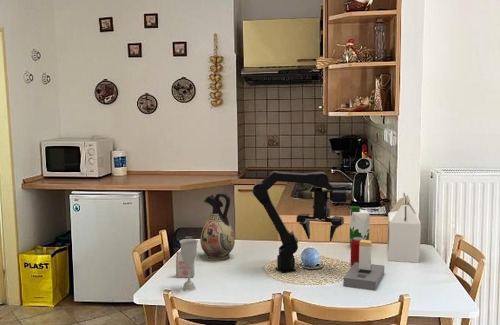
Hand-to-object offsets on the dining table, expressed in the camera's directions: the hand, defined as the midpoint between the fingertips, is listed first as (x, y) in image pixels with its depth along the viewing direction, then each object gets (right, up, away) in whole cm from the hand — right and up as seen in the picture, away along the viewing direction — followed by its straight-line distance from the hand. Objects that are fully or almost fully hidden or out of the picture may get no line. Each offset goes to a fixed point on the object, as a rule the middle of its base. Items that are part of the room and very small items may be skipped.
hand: (319, 240), depth 224 cm
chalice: (-51, -15, -21) cm, 58 cm away
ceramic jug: (-43, -11, +20) cm, 48 cm away
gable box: (+41, -11, +26) cm, 50 cm away
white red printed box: (-54, -14, -7) cm, 57 cm away
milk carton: (+24, -9, +38) cm, 45 cm away
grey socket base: (+16, -14, -10) cm, 24 cm away
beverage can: (+18, -13, +9) cm, 23 cm away
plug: (+16, -9, -11) cm, 22 cm away
